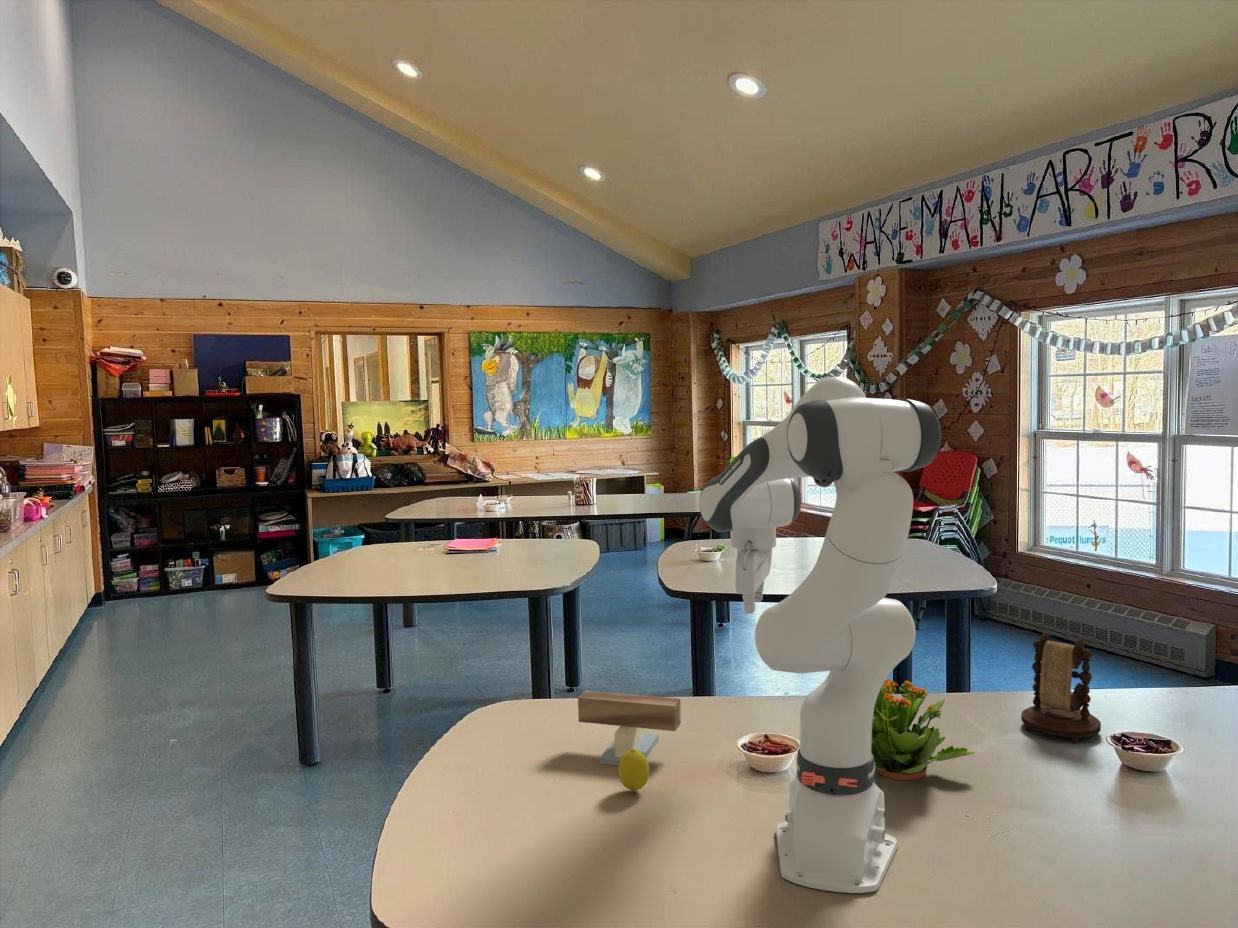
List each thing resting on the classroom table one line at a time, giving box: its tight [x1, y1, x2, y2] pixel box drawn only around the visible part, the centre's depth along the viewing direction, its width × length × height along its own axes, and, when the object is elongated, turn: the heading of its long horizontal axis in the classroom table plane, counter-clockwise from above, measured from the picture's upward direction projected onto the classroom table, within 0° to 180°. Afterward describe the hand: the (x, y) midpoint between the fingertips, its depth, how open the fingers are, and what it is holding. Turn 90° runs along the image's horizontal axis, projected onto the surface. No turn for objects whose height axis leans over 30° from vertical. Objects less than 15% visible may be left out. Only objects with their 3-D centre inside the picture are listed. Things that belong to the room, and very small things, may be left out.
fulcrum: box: [599, 726, 660, 767], centre depth 180 cm, size 14×8×6 cm, turn 162°
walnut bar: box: [577, 690, 682, 732], centre depth 179 cm, size 4×20×5 cm, turn 72°
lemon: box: [618, 749, 650, 793], centre depth 162 cm, size 6×6×8 cm
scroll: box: [1020, 632, 1102, 744], centre depth 185 cm, size 15×15×20 cm
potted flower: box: [871, 678, 976, 781], centre depth 167 cm, size 25×24×18 cm
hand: (753, 606), depth 177 cm, fingers open, 8 cm apart
